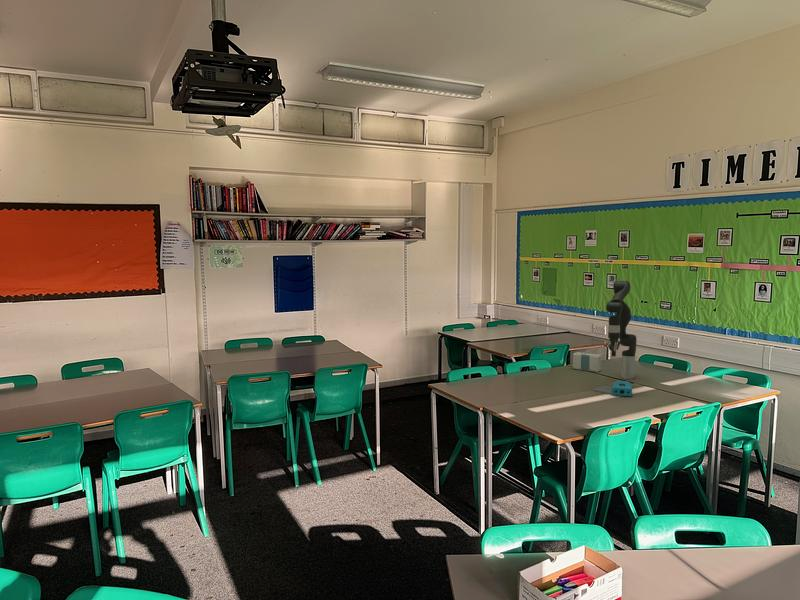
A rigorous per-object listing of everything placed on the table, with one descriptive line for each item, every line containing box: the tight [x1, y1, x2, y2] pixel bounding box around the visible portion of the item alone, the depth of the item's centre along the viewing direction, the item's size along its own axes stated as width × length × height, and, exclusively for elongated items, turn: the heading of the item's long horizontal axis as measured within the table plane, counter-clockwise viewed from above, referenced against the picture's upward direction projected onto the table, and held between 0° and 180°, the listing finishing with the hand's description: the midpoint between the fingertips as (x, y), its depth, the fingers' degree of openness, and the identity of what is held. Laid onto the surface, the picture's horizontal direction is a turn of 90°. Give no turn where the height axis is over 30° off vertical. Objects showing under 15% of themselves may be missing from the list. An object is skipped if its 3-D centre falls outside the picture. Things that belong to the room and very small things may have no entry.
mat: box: [591, 385, 617, 396], centre depth 381 cm, size 15×18×1 cm
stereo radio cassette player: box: [572, 346, 602, 373], centre depth 442 cm, size 21×8×20 cm, turn 50°
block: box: [612, 380, 633, 397], centre depth 375 cm, size 12×5×20 cm
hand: (613, 356), depth 381 cm, fingers closed
